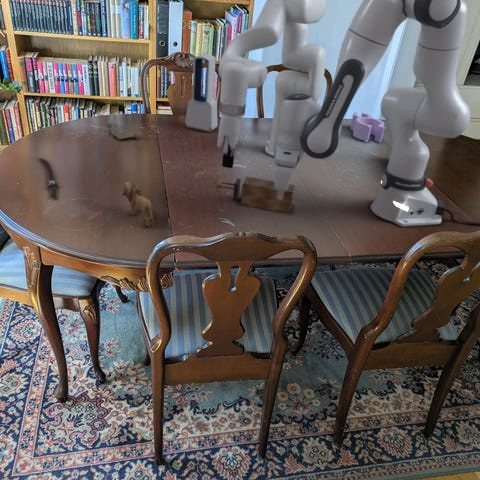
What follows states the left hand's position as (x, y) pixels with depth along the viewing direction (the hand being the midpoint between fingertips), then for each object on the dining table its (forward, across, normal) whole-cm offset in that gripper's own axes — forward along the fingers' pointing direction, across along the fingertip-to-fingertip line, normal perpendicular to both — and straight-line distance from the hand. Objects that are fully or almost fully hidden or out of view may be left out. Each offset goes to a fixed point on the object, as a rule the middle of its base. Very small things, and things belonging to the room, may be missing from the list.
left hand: (227, 166), depth 145 cm
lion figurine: (+11, +21, -20) cm, 32 cm away
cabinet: (+11, 0, +14) cm, 18 cm away
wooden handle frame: (+10, 0, +7) cm, 13 cm away
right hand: (+5, +1, +18) cm, 19 cm away
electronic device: (+11, -58, -25) cm, 64 cm away
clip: (+11, -85, +45) cm, 97 cm away
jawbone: (+11, -40, -52) cm, 66 cm away
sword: (+11, +9, -57) cm, 59 cm away
